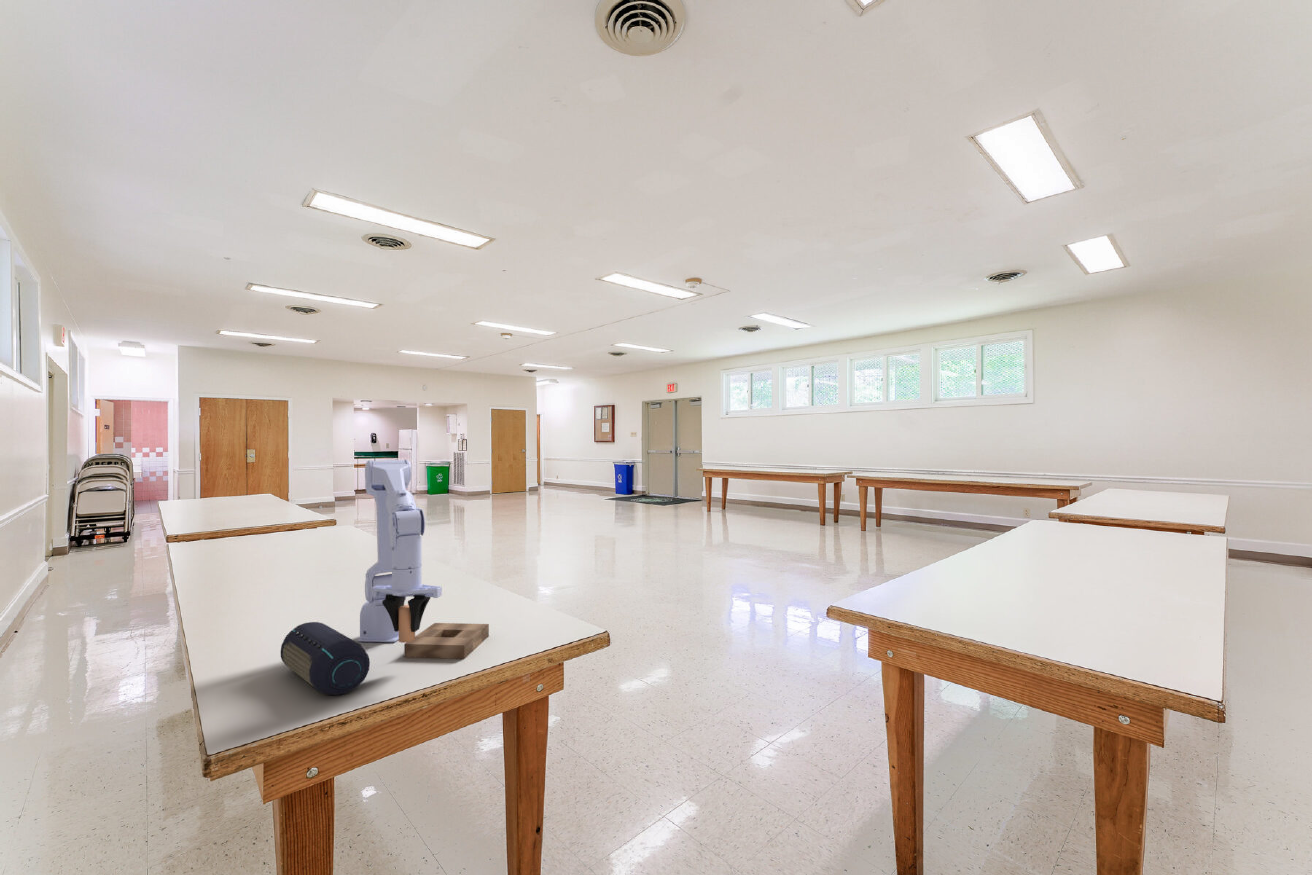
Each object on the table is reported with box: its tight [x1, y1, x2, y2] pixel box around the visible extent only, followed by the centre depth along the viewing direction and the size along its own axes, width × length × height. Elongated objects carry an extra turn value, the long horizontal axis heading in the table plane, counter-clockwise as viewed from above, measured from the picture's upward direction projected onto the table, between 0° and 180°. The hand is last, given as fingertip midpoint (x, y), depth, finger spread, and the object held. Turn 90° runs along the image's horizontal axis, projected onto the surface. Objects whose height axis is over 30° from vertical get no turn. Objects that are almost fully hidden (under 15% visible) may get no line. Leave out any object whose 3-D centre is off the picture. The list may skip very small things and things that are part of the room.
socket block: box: [403, 622, 490, 660], centre depth 127 cm, size 14×14×3 cm
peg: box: [398, 604, 416, 644], centre depth 115 cm, size 3×3×7 cm
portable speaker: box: [280, 621, 371, 696], centre depth 109 cm, size 25×10×10 cm, turn 51°
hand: (406, 630), depth 115 cm, fingers closed on peg, 3 cm apart
